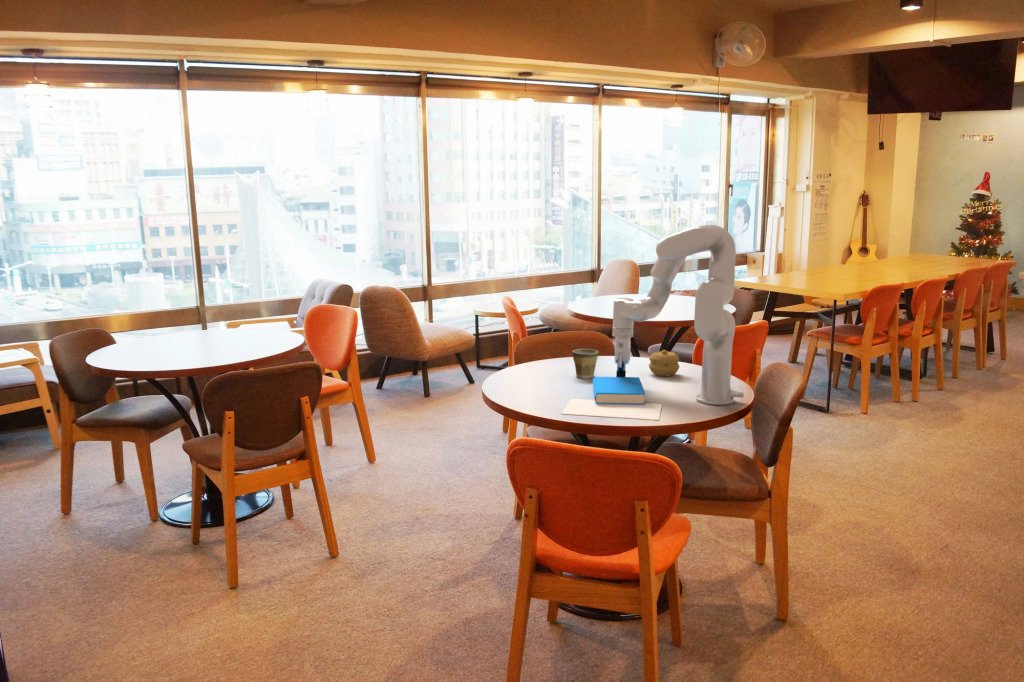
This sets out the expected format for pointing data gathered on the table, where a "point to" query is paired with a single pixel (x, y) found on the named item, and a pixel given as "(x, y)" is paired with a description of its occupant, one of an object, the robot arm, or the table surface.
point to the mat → (613, 410)
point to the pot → (664, 363)
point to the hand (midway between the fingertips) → (620, 380)
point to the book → (618, 390)
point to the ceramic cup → (585, 362)
